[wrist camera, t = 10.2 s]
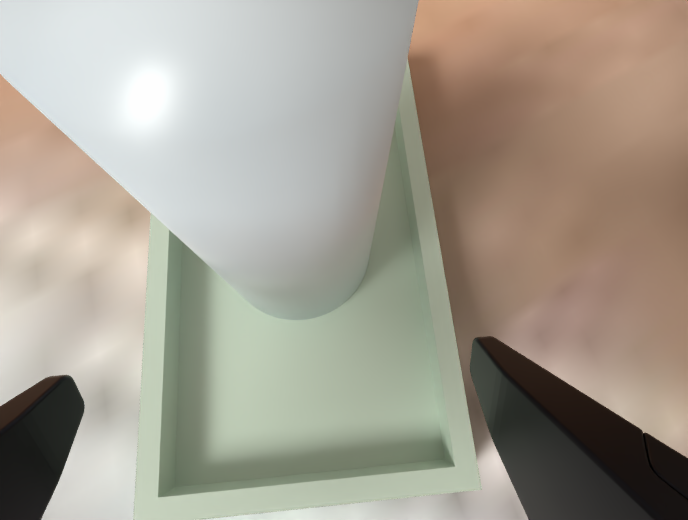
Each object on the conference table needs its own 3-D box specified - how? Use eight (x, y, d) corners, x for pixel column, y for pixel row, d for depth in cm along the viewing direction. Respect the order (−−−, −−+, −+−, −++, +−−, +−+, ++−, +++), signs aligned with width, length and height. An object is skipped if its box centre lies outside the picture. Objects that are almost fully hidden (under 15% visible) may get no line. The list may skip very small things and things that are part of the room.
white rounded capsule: (398, 249, 18) (516, -50, 6) (294, 352, 17) (156, 245, 4) (302, 161, 20) (230, -232, 7) (198, 249, 18) (-113, -51, 6)
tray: (461, 474, 16) (481, 489, 14) (163, 505, 16) (132, 526, 14) (397, 75, 22) (404, 38, 20) (179, 90, 22) (159, 54, 20)
